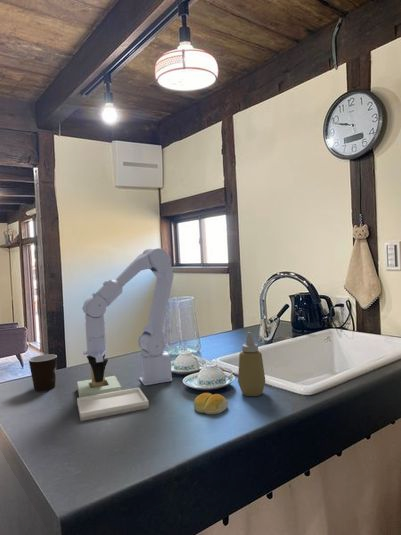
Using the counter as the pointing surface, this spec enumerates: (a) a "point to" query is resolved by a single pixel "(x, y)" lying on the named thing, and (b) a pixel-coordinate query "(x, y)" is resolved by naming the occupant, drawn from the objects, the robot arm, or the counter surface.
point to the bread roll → (210, 403)
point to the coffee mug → (43, 372)
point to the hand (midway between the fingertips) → (98, 379)
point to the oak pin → (97, 384)
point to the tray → (111, 403)
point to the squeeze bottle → (251, 369)
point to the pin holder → (87, 389)
